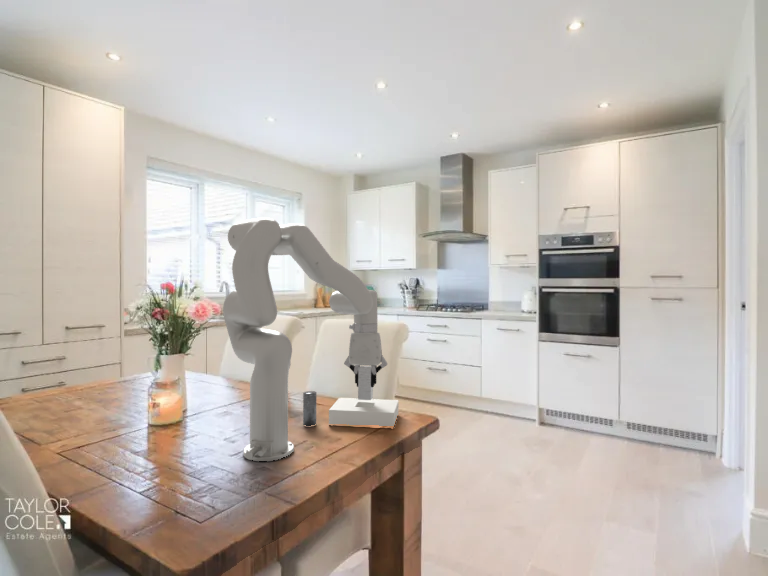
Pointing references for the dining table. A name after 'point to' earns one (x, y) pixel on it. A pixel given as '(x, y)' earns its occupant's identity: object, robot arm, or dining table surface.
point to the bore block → (364, 412)
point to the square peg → (365, 383)
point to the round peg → (309, 408)
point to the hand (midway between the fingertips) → (365, 385)
